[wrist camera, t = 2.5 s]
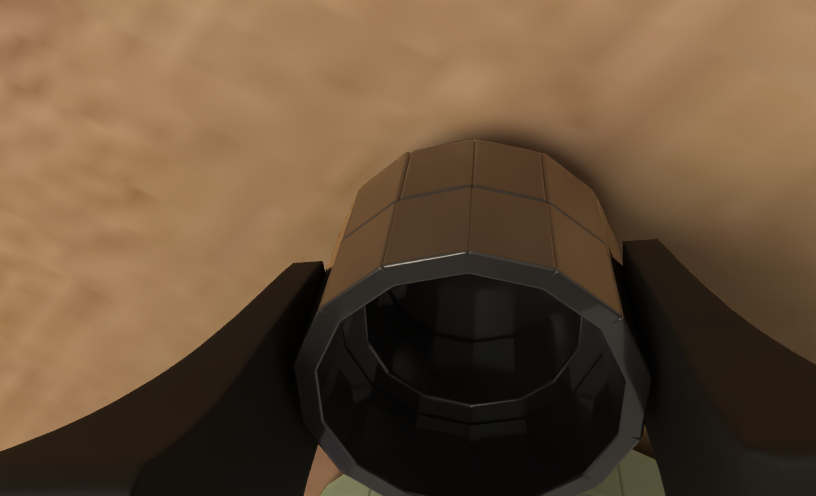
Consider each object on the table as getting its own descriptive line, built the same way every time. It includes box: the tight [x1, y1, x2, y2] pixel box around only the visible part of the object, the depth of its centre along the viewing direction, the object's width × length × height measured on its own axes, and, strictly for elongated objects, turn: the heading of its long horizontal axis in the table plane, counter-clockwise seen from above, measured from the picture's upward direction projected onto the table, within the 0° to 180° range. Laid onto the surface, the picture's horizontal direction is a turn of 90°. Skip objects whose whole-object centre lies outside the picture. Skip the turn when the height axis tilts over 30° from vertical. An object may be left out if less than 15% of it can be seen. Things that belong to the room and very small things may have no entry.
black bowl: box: [293, 139, 652, 496], centre depth 14 cm, size 6×6×4 cm
